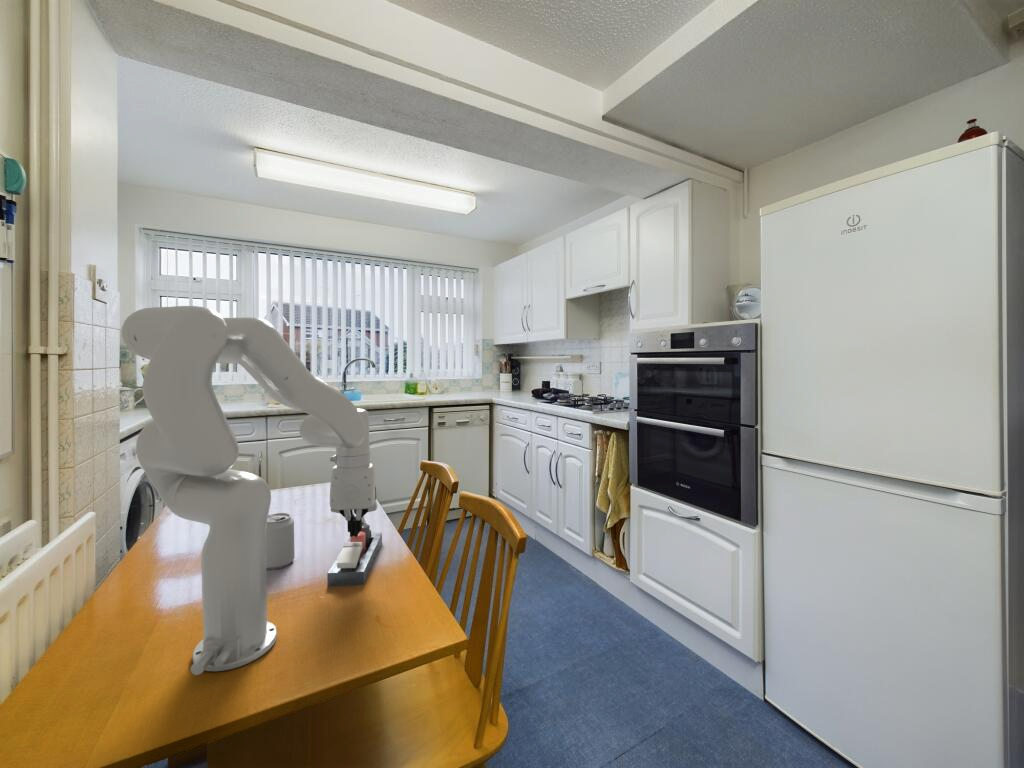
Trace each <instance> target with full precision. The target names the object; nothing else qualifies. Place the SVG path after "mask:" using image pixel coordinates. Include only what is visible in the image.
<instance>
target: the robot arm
mask: <svg viewBox="0 0 1024 768" xmlns="http://www.w3.org/2000/svg"><path fill="white" fill-rule="evenodd" d="M121 338H122V341H123V343H124V344H125V346H126V347H127V349H129V350H130V351H131V352H132V353H133V354H135V355H136V356H139V357H140V358H143V359H146V360H149V362H148V364H147V367H146V370H145V373H144V376H143V381H142V395H143V399H144V403H145V406H146V407H147V410H148V412H149V414H150V416H151V418H152V420H151V421H149V422H148V423H147V424H145V426H144V427H143V428H142V429H141V431H140V432H139V434H138V436H137V439H136V444H135V445H136V446H135V452H136V457H137V460H138V462H139V464H140V466H141V468H142V470H143V471H144V473H145V475H146V476H147V478H148V480H149V481H150V483H151V484H152V486H153V487H154V490H155V491H156V492H157V494H158V496H159V497H160V498H161V500H162V501H163V502H164V504H165V506H166V507H167V508H168V509H169V510H170V512H171V513H173V514H174V515H175V516H177V517H179V518H181V519H184V520H188V521H190V522H191V521H192V522H196V523H201V524H205V525H208V526H209V530H208V534H207V537H206V538H205V541H204V543H203V546H202V548H201V549H202V550H201V553H200V554H201V556H200V557H201V558H200V568H201V592H202V593H201V595H202V596H201V597H202V629H203V631H202V632H203V635H202V636H203V639H201V640H200V641H199V642H198V644H196V646H195V648H194V649H193V652H192V662H193V664H192V665H191V666H190V672H191V674H193V675H194V676H199V675H202V673H203V672H204V671H206V672H222V671H223V672H225V671H229V670H233V669H235V668H240V667H243V666H245V665H247V664H250V663H252V662H253V661H255V660H257V659H259V658H260V657H261V656H263V655H265V654H266V653H267V652H268V651H270V649H271V648H272V647H273V646H274V644H275V643H276V641H277V637H278V629H277V626H276V625H275V624H273V623H272V622H270V621H268V611H267V610H268V603H267V601H268V600H267V599H268V597H267V595H268V594H267V568H266V525H267V518H268V515H269V512H270V509H271V508H270V507H271V504H272V503H271V502H272V492H271V489H270V486H269V484H268V483H267V482H266V481H265V479H264V478H262V477H261V476H259V475H257V474H255V473H252V472H248V471H242V470H236V469H232V468H233V466H234V465H235V464H236V462H237V461H238V458H239V455H240V454H239V453H240V448H239V444H238V440H237V437H236V435H235V433H234V431H233V429H232V427H231V425H230V423H229V421H228V418H227V417H226V414H225V413H224V411H223V409H222V407H221V404H220V403H219V401H218V398H217V396H216V394H215V391H214V387H213V372H214V369H215V367H216V364H237V365H240V366H241V367H242V368H243V369H244V370H245V371H246V372H247V373H248V374H249V375H250V376H251V377H252V378H253V379H254V381H256V382H257V383H258V385H259V386H260V387H261V388H262V389H263V390H264V391H265V392H266V393H267V395H268V396H269V398H270V399H272V400H273V401H275V402H276V403H278V404H281V405H283V406H285V407H288V408H290V409H292V410H296V411H299V412H301V413H302V412H303V413H305V414H307V416H306V417H304V418H303V420H302V421H301V423H300V426H299V434H300V436H301V438H302V439H303V441H304V442H306V443H307V444H310V445H312V446H317V447H325V448H326V447H328V448H335V455H330V457H329V461H330V462H333V463H335V465H334V466H333V467H332V470H331V476H330V484H329V485H330V487H329V488H330V489H329V506H330V512H332V513H336V514H340V515H341V516H343V517H344V518H345V520H346V521H347V532H348V533H349V538H350V537H353V536H355V537H357V536H358V534H359V532H361V530H362V517H363V516H364V517H365V515H366V514H367V513H370V512H375V511H376V510H377V509H378V507H379V506H378V504H377V498H378V497H377V493H378V492H377V490H378V489H377V481H376V474H375V470H374V466H373V463H371V461H370V459H371V458H370V455H371V454H370V453H371V452H370V415H369V412H368V410H367V409H364V408H360V407H359V408H358V407H356V406H355V404H354V403H353V402H352V401H351V399H350V398H349V397H348V396H346V395H345V394H344V393H342V392H341V391H340V390H339V389H337V388H335V387H333V386H332V385H330V384H329V383H328V382H325V380H323V379H321V378H319V377H317V376H316V375H315V374H313V373H311V372H310V370H309V369H308V368H307V366H306V365H305V364H304V363H303V361H302V360H301V359H300V358H299V357H298V355H297V354H296V352H294V350H293V348H292V347H291V345H289V344H288V342H287V341H286V340H285V338H284V337H283V336H282V334H280V332H279V331H278V330H277V328H276V327H275V326H274V325H273V324H272V323H270V322H269V321H268V320H265V319H263V318H260V317H252V316H251V317H249V316H248V317H247V316H246V317H244V316H243V317H223V316H222V315H221V314H220V313H219V312H217V311H215V310H213V309H210V308H207V307H204V306H198V305H197V306H196V305H175V306H174V305H173V306H158V307H157V306H155V307H145V308H142V309H138V310H135V311H134V312H132V313H131V314H130V315H128V316H127V317H126V318H125V320H124V321H123V324H122V325H121ZM356 509H357V512H356V514H355V513H354V510H356Z"/></svg>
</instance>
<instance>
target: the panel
mask: <svg viewBox="0 0 1024 768" xmlns="http://www.w3.org/2000/svg"><path fill="white" fill-rule="evenodd" d="M346 543H350V537H349V538H348V539H347V541H346ZM382 544H383V532H372V530H371V529H370V543H369V544H368V545H366V549H367V550H366V552H365V553H363V554H360V556H359V559H358V563H357V566H356V568H339V569H338V568H337V562H338V559H339V557H340V554H341V552H342V550H341V551H340V552H339V554H338V555H337V557H336V559H334V561H333V563H332V565H331V567H330V568H329V570H328V571H327V573H326V574H327V575H326V577H327V581H326V582H327V583H326V584H327V587H334V586H337V587H338V586H357V585H358V586H361V585H363V586H364V585H365V583H366V580H367V579H368V576H369V574H370V571H371V569H372V567H373V565H374V562H375V560H376V558H377V556H378V554H379V551H380V549H381V547H382Z"/></svg>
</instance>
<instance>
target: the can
mask: <svg viewBox="0 0 1024 768" xmlns="http://www.w3.org/2000/svg"><path fill="white" fill-rule="evenodd" d="M294 559H295V520H294V519H293V518H292V515H291V514H290V513H288V512H275V513H271V514H268V518H267V525H266V570H276V569H278V570H279V569H282V568H284V567H286V566H288V565H290V564H291V562H292V561H294Z"/></svg>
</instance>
